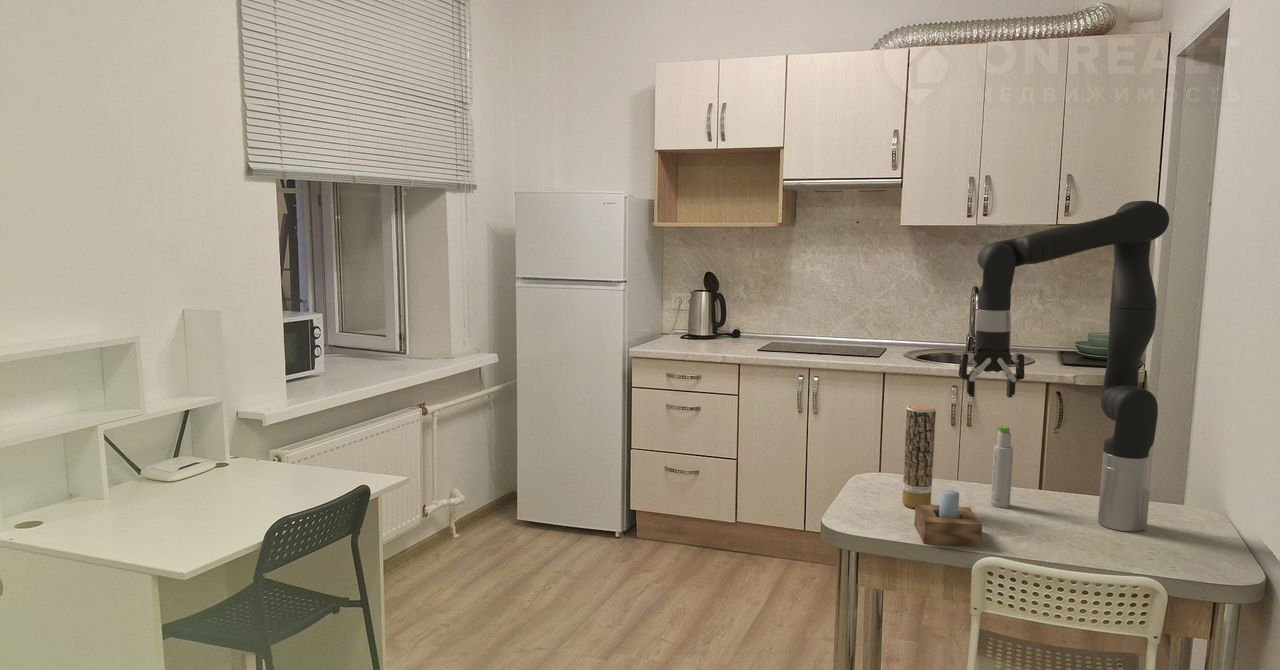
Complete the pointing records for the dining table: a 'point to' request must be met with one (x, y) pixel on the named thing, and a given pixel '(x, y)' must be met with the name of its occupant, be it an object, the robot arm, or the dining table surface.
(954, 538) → the socket block
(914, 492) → the brown bark cylinder
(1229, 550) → the dining table surface
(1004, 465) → the bottle
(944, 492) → the peg
